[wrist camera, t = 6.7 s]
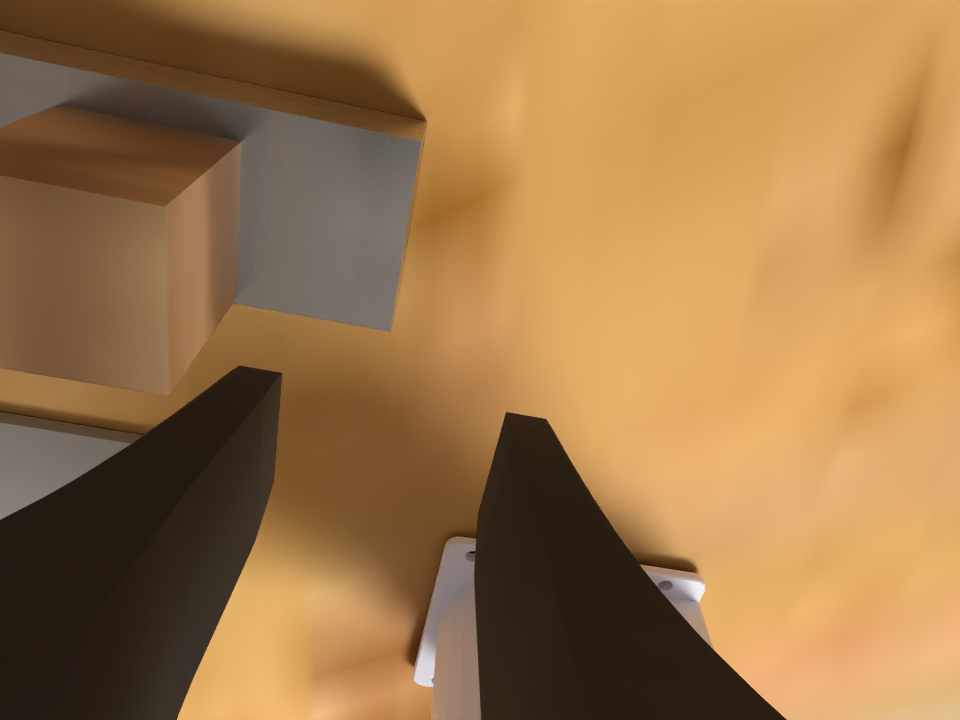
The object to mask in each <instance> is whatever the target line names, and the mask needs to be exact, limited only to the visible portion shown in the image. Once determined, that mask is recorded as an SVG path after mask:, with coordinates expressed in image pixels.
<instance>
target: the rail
mask: <svg viewBox="0 0 960 720" xmlns="http://www.w3.org/2000/svg"><path fill="white" fill-rule="evenodd" d="M58 104H59V105H63V106H68V107H73V108H78V109H83V110H88V111H93V112H98V113H103V114H108V115H113V116H118V117H123V118H128V119H133V120H137V121H142V122H147V123H152V124H157V125H162V126H167V127H172V128H177V129H182V130H187V131H192V132H197V133H202V134H207V135H211V136H216V137H221V138H226V139H231V140H236V141H241V167H240V197H239V228H238V258H237V289H236V299H235V300H234V302H233V303H236V304H241V305H247V306H252V307H258V308H263V309H269V310H274V311H279V312H285V313H290V314H296V315H301V316H307V317H312V318H318V319H323V320H329V321H334V322H340V323H345V324H351V325H356V326H362V327H367V328H373V329H378V330H383V331H389V332H390V331H391V326H392V322H393V318H394V314H395V310H396V305H397V301H398V296H399V290H400V284H401V278H402V272H403V266H404V260H405V254H406V248H407V242H408V236H409V230H410V224H411V217H412V211H413V205H414V199H415V193H416V187H417V181H418V175H419V169H420V163H421V157H422V151H423V145H424V139H425V132H426V126H427V121H423V120H418V119H414V118H409V117H404V116H400V115H395V114H390V113H386V112H381V111H376V110H372V109H367V108H362V107H357V106H353V105H348V104H343V103H339V102H334V101H329V100H325V99H320V98H315V97H311V96H306V95H301V94H296V93H292V92H287V91H282V90H278V89H273V88H268V87H264V86H259V85H254V84H250V83H245V82H240V81H236V80H231V79H226V78H221V77H217V76H212V75H207V74H203V73H198V72H193V71H189V70H184V69H179V68H175V67H170V66H165V65H161V64H156V63H151V62H146V61H142V60H137V59H132V58H128V57H123V56H118V55H114V54H109V53H104V52H100V51H95V50H90V49H86V48H81V47H76V46H71V45H67V44H62V43H57V42H53V41H48V40H43V39H39V38H34V37H29V36H25V35H20V34H15V33H11V32H6V31H1V30H0V127H2V126H5V125H7V124H10V123H13V122H15V121H18V120H20V119H23V118H25V117H28V116H30V115H33V114H35V113H38V112H40V111H43V110H45V109H48V108H50V107H53V106H55V105H58Z"/></svg>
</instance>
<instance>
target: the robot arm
mask: <svg viewBox="0 0 960 720" xmlns="http://www.w3.org/2000/svg"><path fill="white" fill-rule="evenodd" d="M281 381H282V373H279V372H273V371H267V370H262V369H256V368H250V367H244V366H238V367H237V368H235V369H233V370H232V371H230V372H229V373H228V374H226V375H225V376H224V377H222V378H221V379H220V380H218V381H217V382H216V383H214V384H213V385H212V386H210V387H209V388H208V389H206V390H205V391H204V392H203V393H201V394H200V395H199V396H197V397H196V398H195V399H193V400H192V401H191V402H189V403H188V404H187V405H185V406H184V407H182V408H181V409H180V410H178V411H177V412H176V413H174V414H173V415H172V416H170V417H169V418H167V419H166V420H164V421H163V422H162V423H160V424H159V425H157V426H156V427H154V428H153V429H152V430H150V431H149V432H147V433H146V434H145V435H143V436H142V437H140V438H139V439H137V440H136V441H134V442H133V443H131V444H130V445H128V446H127V447H125V448H124V449H122V450H121V451H119V452H118V453H116V454H114V455H113V456H111V457H110V458H108V459H106V460H105V461H103V462H102V463H100V464H99V465H97V466H95V467H94V468H92V469H91V470H89V471H87V472H86V473H84V474H83V475H81V476H79V477H78V478H76V479H74V480H73V481H71V482H69V483H68V484H66V485H64V486H62V487H61V488H59V489H57V490H56V491H54V492H52V493H50V494H48V495H47V496H45V497H43V498H41V499H39V500H37V501H35V502H33V503H32V504H30V505H28V506H26V507H24V508H22V509H20V510H18V511H16V512H14V513H12V514H10V515H8V516H6V517H4V518H2V519H1V520H0V720H177V717H178V714H179V712H180V709H181V707H182V704H183V702H184V699H185V697H186V695H187V692H188V690H189V687H190V685H191V682H192V680H193V678H194V675H195V673H196V671H197V669H198V667H199V664H200V662H201V660H202V658H203V656H204V653H205V651H206V649H207V647H208V645H209V642H210V640H211V638H212V636H213V634H214V631H215V629H216V627H217V625H218V623H219V620H220V618H221V616H222V614H223V612H224V609H225V607H226V605H227V603H228V601H229V598H230V596H231V594H232V592H233V590H234V587H235V585H236V583H237V581H238V578H239V576H240V574H241V572H242V569H243V567H244V565H245V563H246V561H247V558H248V556H249V554H250V552H251V549H252V547H253V545H254V542H255V540H256V537H257V533H258V530H259V527H260V524H261V521H262V518H263V515H264V512H265V508H266V505H267V502H268V498H269V495H270V492H271V489H272V485H273V482H274V472H275V459H276V446H277V433H278V420H279V407H280V394H281ZM470 551H475V553H469V552H470ZM662 581H666V582H662ZM705 588H706V587H705V584H704V581H703V578H702V576H700V575H699V574H696V573H692V572H686V571H679V570H673V569H666V568H660V567H653V566H647V565H641V564H639V563H638V562H637V560H636V559H635V558H634V556H633V555H632V554H631V552H630V551H629V550H628V548H627V547H626V546H625V544H624V543H623V541H622V540H621V539H620V537H619V536H618V534H617V533H616V531H615V530H614V528H613V527H612V526H611V524H610V522H609V521H608V519H607V518H606V516H605V515H604V513H603V512H602V510H601V509H600V507H599V506H598V504H597V503H596V501H595V500H594V498H593V497H592V495H591V493H590V492H589V490H588V489H587V487H586V485H585V484H584V482H583V480H582V479H581V477H580V475H579V474H578V472H577V470H576V469H575V467H574V465H573V464H572V462H571V460H570V459H569V457H568V455H567V453H566V452H565V450H564V448H563V446H562V445H561V443H560V441H559V440H558V438H557V436H556V434H555V433H554V431H553V429H552V427H551V426H550V424H549V423H548V421H547V420H546V419H543V418H537V417H531V416H525V415H520V414H514V413H508V412H506V414H505V418H504V422H503V425H502V429H501V433H500V436H499V440H498V444H497V447H496V451H495V454H494V458H493V462H492V465H491V469H490V473H489V476H488V480H487V483H486V487H485V491H484V494H483V498H482V502H481V505H480V509H479V512H478V522H477V535H476V539H473V538H467V537H453V538H450V539H449V540H448V541H447V542H446V544H445V547H444V551H443V555H442V559H441V563H440V567H439V571H438V575H437V578H436V582H435V586H434V590H433V594H432V598H431V602H430V606H429V610H428V614H427V618H426V622H425V626H424V630H423V634H422V638H421V642H420V646H419V650H418V654H417V658H416V662H415V666H414V671H413V680H414V681H415V682H416V683H417V684H419V685H422V686H428V687H433V696H432V711H431V720H786V719H785V718H784V717H783V716H782V715H781V714H780V713H779V712H778V711H776V710H775V709H774V708H773V707H772V706H771V705H770V704H769V703H768V702H767V701H765V700H764V699H763V698H762V697H761V696H760V695H759V694H758V693H757V692H756V691H755V690H754V689H753V688H752V687H751V686H750V685H749V684H748V683H747V682H746V681H745V680H744V679H743V678H742V677H741V676H740V675H739V674H738V673H737V672H736V671H734V670H733V669H732V668H731V667H730V666H729V665H728V664H727V663H726V662H725V661H724V660H723V659H722V658H721V657H720V656H719V655H718V654H717V653H716V652H715V651H714V649H713V646H712V643H711V640H710V637H709V634H708V630H707V627H706V624H705V621H704V618H703V615H702V612H701V609H700V605H699V601H700V599H701V597H702V595H703V593H704V591H705Z"/></svg>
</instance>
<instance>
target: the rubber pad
mask: <svg viewBox="0 0 960 720" xmlns="http://www.w3.org/2000/svg"><path fill="white" fill-rule="evenodd" d="M142 436H143V435H140V434H134V433H128V432H122V431H116V430H109V429H103V428H97V427H91V426H85V425H79V424H73V423H66V422H60V421H54V420H48V419H42V418H36V417H29V416H23V415H17V414H11V413H5V412H0V520H1V519H2V518H4V517H6V516H8V515H10V514H12V513H14V512H16V511H18V510H20V509H22V508H24V507H26V506H28V505H30V504H32V503H33V502H35V501H37V500H39V499H41V498H43V497H45V496H47V495H48V494H50V493H52V492H54V491H56V490H57V489H59V488H61V487H62V486H64V485H66V484H68V483H69V482H71V481H73V480H74V479H76V478H78V477H79V476H81V475H83V474H84V473H86V472H87V471H89V470H91V469H92V468H94V467H95V466H97V465H99V464H100V463H102V462H103V461H105V460H106V459H108V458H110V457H111V456H113V455H114V454H116V453H118V452H119V451H121V450H122V449H124V448H125V447H127V446H128V445H130V444H131V443H133V442H134V441H136V440H137V439H139V438H140V437H142Z"/></svg>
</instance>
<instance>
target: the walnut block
mask: <svg viewBox="0 0 960 720" xmlns="http://www.w3.org/2000/svg"><path fill="white" fill-rule="evenodd" d="M240 167H241V141H236V140H231V139H226V138H221V137H216V136H211V135H207V134H202V133H197V132H192V131H187V130H182V129H177V128H172V127H167V126H162V125H157V124H152V123H147V122H142V121H137V120H133V119H128V118H123V117H118V116H113V115H108V114H103V113H98V112H93V111H88V110H83V109H78V108H73V107H68V106H63V105H59V104H58V105H55V106H53V107H50V108H48V109H45V110H43V111H40V112H38V113H35V114H33V115H30V116H28V117H25V118H23V119H20V120H18V121H15V122H13V123H10V124H7V125H5V126H2V127H0V368H3V369H9V370H15V371H21V372H27V373H33V374H39V375H45V376H51V377H57V378H63V379H69V380H75V381H81V382H87V383H93V384H99V385H105V386H111V387H117V388H123V389H129V390H135V391H141V392H147V393H153V394H159V395H165V396H170V394H171V393H172V391H173V390H174V388H175V387H176V385H177V384H178V382H179V381H180V379H181V378H182V377H183V375H184V374H185V372H186V371H187V369H188V368H189V366H190V365H191V363H192V362H193V360H194V359H195V358H196V356H197V355H198V353H199V352H200V350H201V349H202V347H203V346H204V344H205V343H206V341H207V340H208V338H209V337H210V336H211V334H212V333H213V331H214V330H215V328H216V327H217V325H218V324H219V322H220V321H221V319H222V318H223V317H224V315H225V314H226V312H227V311H228V309H229V308H230V306H231V305H232V303H233V302H234V300H235V299H236V289H237V258H238V228H239V197H240Z"/></svg>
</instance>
